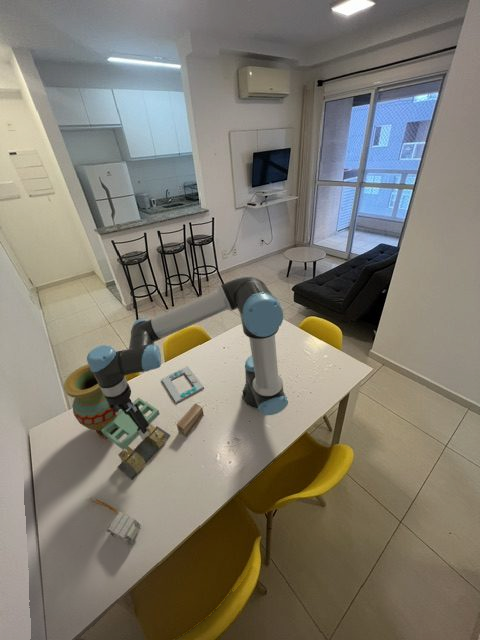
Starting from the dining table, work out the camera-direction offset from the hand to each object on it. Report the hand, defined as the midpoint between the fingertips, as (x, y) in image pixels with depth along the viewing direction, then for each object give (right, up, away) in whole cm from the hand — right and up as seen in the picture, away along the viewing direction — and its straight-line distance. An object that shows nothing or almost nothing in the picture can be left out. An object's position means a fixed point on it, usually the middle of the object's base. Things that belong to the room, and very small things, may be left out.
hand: (134, 428), depth 94 cm
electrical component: (-4, -27, -9) cm, 28 cm away
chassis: (+1, -13, +9) cm, 16 cm away
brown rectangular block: (+18, -6, +18) cm, 26 cm away
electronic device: (+9, +6, +38) cm, 39 cm away
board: (0, +2, -2) cm, 3 cm away
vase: (-17, -7, +20) cm, 27 cm away
